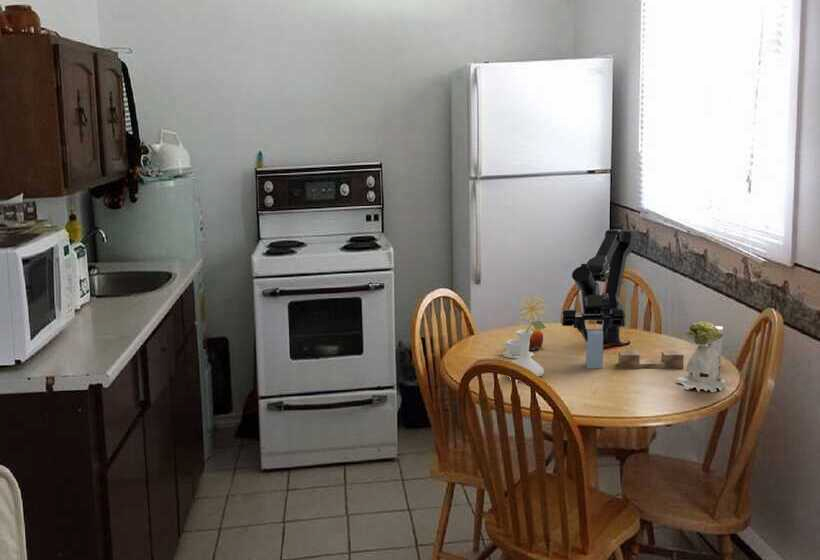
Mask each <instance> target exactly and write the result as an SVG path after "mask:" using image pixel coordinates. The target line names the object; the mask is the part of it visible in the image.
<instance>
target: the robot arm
mask: <svg viewBox="0 0 820 560" xmlns="http://www.w3.org/2000/svg"><path fill="white" fill-rule="evenodd" d="M636 242H637V235H636V233H634V231H633V230H631V229H608V230H606V231H605V234H604V238H603V241H602V242H601V244H600V246H599V248H598V250H597V252H596V254H595V256H593V257H591V258H590V259H589V260H588V261H587V262H586V263H581V264H580V266H577V267H576V268H575V269H574V270H573V271H572V272H571V277H572V279H573V281H574V283H575V285H576V287H577V289H579V290H580V293H581V305H582V312H577V311H576V309H564V310H563V311H562V314H561V326H563V327H572V326H573V328H574V329H576V330H578V332H579V333H580V335H581V336H582V337H583V340H584V341H585V343H586V342H587V341H588V338H587V331H586V329H587V327H586V322H585V321H596V325H601V330H602V332H603V345H621V344H623V343H622V341H621V339H620V328H621V327H624V326H626V319H627V318H626V315H625V310H624V309H623V303H622V301H621V299H620V294H621V290H622V289H621V288H622V283H623V278H624V271H625V267H626V262H627V257H628V256H629V255H630V254H631V252H633V250H634V246H635V244H636ZM609 265H610V266H609ZM598 282H600V283H605V282H607V283H606V287H605V291H604V292H605V293H603V292H602V293H600V292H601V291H600V285H599V283H598Z"/></svg>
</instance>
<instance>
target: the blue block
mask: <svg viewBox="0 0 820 560" xmlns="http://www.w3.org/2000/svg"><path fill="white" fill-rule="evenodd" d="M586 331H587V338H588V341H587V342H586V341H585V365H586V368H587V367H588V368H587V369H603V365H604V364H603V363H604V359H603V357H604V344H603V332H602V328H586Z"/></svg>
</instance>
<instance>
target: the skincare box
mask: <svg viewBox="0 0 820 560" xmlns="http://www.w3.org/2000/svg"><path fill="white" fill-rule="evenodd" d="M714 326H715V327H716V328H717V329H718V330H719V331H721V332H722V334H723V336H724V327H723V326H722V325H721V326H720V325H714ZM723 336H722V337H721V338H720V339H719V340H717V341H715V342H712V344H713V346H714V348H715V350H716V351H717V354H718V357H719V367H722V366H721V365H722V355H723V353H722V351H723Z"/></svg>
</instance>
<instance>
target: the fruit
mask: <svg viewBox="0 0 820 560" xmlns="http://www.w3.org/2000/svg"><path fill="white" fill-rule="evenodd" d="M529 330H531V331H533V334H532V335H531V337H530V340H529V341H530V344H529V351H535V350H536V349H541V350H543V348H542V347H543V343H544V333H543V332H542V331H541V329H539V330H537V329H535V328H534V327H533V328H529ZM518 339H520V338H519V337H518Z"/></svg>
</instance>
